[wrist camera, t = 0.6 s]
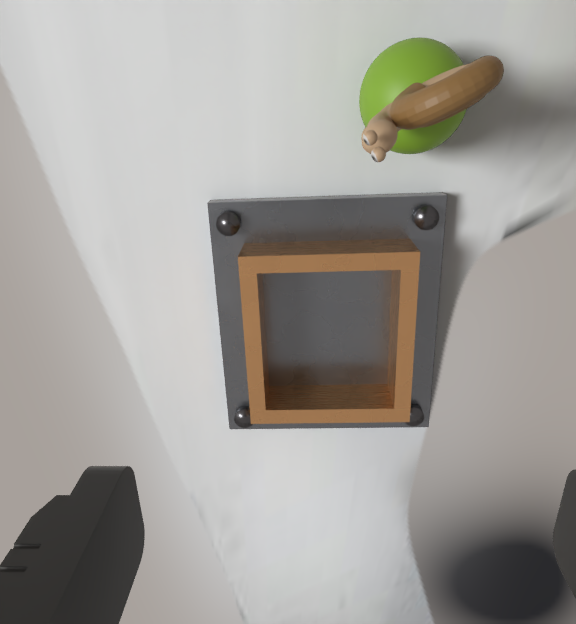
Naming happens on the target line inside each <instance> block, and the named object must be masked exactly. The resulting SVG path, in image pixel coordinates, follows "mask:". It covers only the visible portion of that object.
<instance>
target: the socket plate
mask: <svg viewBox="0 0 576 624" xmlns="http://www.w3.org/2000/svg"><path fill="white" fill-rule="evenodd" d="M446 203H447V195H446V194H445V193H443V192H439V193H408V194H378V195H347V196H317V197H286V198H256V199H225V200H210V201H209V202H208V213H209V223H210V233H211V243H212V254H213V264H214V274H215V284H216V294H217V305H218V315H219V325H220V335H221V345H222V356H223V366H224V376H225V386H226V396H227V406H228V417H229V427H230V429H284V428H379V427H429V415H430V403H431V390H432V378H433V365H434V353H435V340H436V328H437V315H438V303H439V290H440V278H441V266H442V253H443V241H444V228H445V216H446Z"/></svg>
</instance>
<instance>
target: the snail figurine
mask: <svg viewBox="0 0 576 624" xmlns="http://www.w3.org/2000/svg"><path fill="white" fill-rule="evenodd" d="M503 72H504V69H503V64H502V62H501V61H500V60H499V59H498V58H497V57H494V56H484V57H481V58H479V59H477V60H475V61H474V62H472V63H470V64H466V65H464V64H463V63H462V61H461V59H460V58H459V57H458V55H457V54H456V53H455V52H454V51H453V50H452V49H451V48H449V47H448V46H446V45H445V44H443V43H441V42H439V41H436V40H433V39H429V38H411V39H406V40H403V41H400V42H398V43H396V44H394V45H392V46H390V47H389V48H387V49H386V50H384V51H383V52H382V53H381V54H380V55H379V56H378V57H377V58H376V59H375V60H374V61H373V63H372V64H371V66H370V67H369V69H368V71H367V72H366V75H365V77H364V79H363V82H362V86H361V90H360V100H359V103H360V112H361V117H362V120H363V123H364V125H365V127H366V128H365V129H364V131H363V133H362V146H363V148H364V149H365V150H366V151H367V152H368V153H370V154H371V155H372V158H373V160H374V161H376V162H381V161H383V160H384V158H385V156H386V152H388V151H389V150H391V151H394V152H397V153H402V154H416V153H422V152H425V151H428V150H431V149H433V148H435V147H437V146H439V145H440V144H442V143H443V142H444V141H446V140H447V139H448V138H449V137H450V136H451V135H452V134H453V133H454V132H455V130H456V129H457V128H458V126H459V125H460V123H461V121H462V119H463V117H464V115H465V113H466V110H467V108H469V107H471V106H472V105H474V104H475V103H477V102H478V101H480V100H481V99H482V98H483V97H484V96H485V95H486V94H487V93H488V92H490V91H491V90H492V89H494V88H495V87H496V86H497V85H498V84H499V82H500V81H501V79H502V76H503Z"/></svg>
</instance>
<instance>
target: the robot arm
mask: <svg viewBox="0 0 576 624" xmlns="http://www.w3.org/2000/svg"><path fill="white" fill-rule="evenodd" d="M553 546H554V552H555V556H556V560H557V563H558V565H559V568H560V570H561V571H562V574H563V576H564V577H565V579H566V581H567V583H568V585H569V587H570V589H571V591H572V592H573V594H574V596H575V598H576V470H572V471H571V472H570V473H569V475H568V477H567V480H566V484H565V488H564V492H563V496H562V500H561V504H560V508H559V512H558V515H557V520H556V524H555V527H554V532H553ZM143 548H144V523H143V518H142V513H141V507H140V502H139V496H138V491H137V486H136V480H135V475H134V472H133V470H132V468H131V467H128V466H90V467H88V468H87V469H86V470H85V471H84V472H83V474H82V476H81V477H80V479H79V481H78V483H77V484H76V486H75V488H74V489H73V491H72V493H71V495H57V496H55V497H54V498H53V499H52V500H51V501H50V502H48V503H47V504H46V505H45V506H44V507H43V508H42V509H40V510H39V511H38V512H37V513H36V514H35V515H33V516H32V517H31V519H30V520H29V522H28V523H27V525H26V526H25V528H24V529H23V531H22V532H21V534H20V536H19V537H18V539H17V540H16V542H15V543H14V548H13V549H11V550H10V551H9V553H8V554H7V556H6V557H5V559H4V560H3V562H2V563H1V565H0V624H119V621H120V618H121V616H122V613H123V610H124V607H125V604H126V601H127V599H128V596H129V593H130V590H131V587H132V585H133V582H134V579H135V576H136V573H137V570H138V568H139V564H140V561H141V558H142V553H143Z"/></svg>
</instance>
